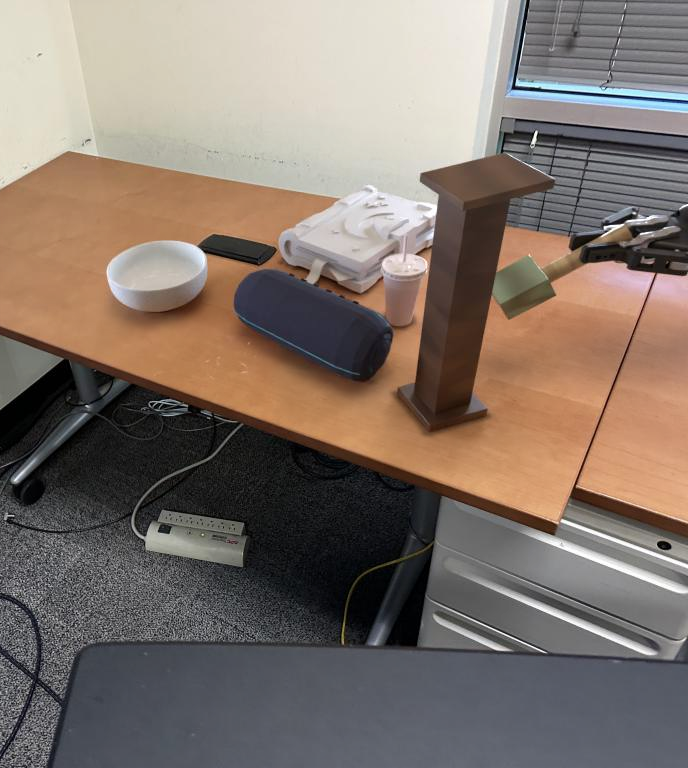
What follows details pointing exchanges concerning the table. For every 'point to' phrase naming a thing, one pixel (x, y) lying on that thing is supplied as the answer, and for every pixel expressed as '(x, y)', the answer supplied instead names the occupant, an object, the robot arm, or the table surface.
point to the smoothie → (402, 285)
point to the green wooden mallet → (540, 277)
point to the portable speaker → (315, 323)
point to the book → (358, 237)
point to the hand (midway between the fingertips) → (576, 248)
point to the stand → (463, 281)
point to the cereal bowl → (158, 275)
